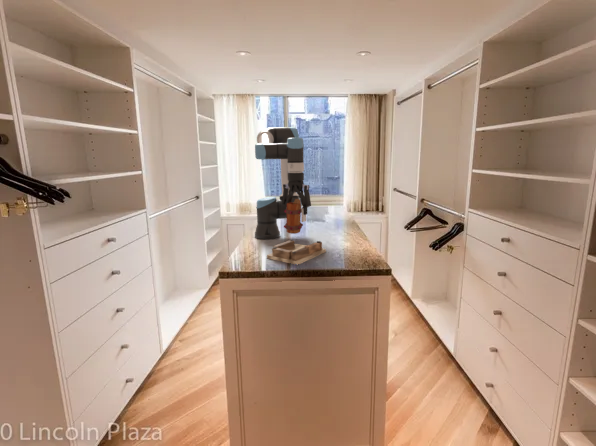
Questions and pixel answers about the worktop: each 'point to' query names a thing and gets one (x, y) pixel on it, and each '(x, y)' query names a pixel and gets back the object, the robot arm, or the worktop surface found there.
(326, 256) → the worktop surface
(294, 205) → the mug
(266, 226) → the robot arm
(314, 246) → the leg
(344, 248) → the worktop surface
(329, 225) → the worktop surface
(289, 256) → the seat
